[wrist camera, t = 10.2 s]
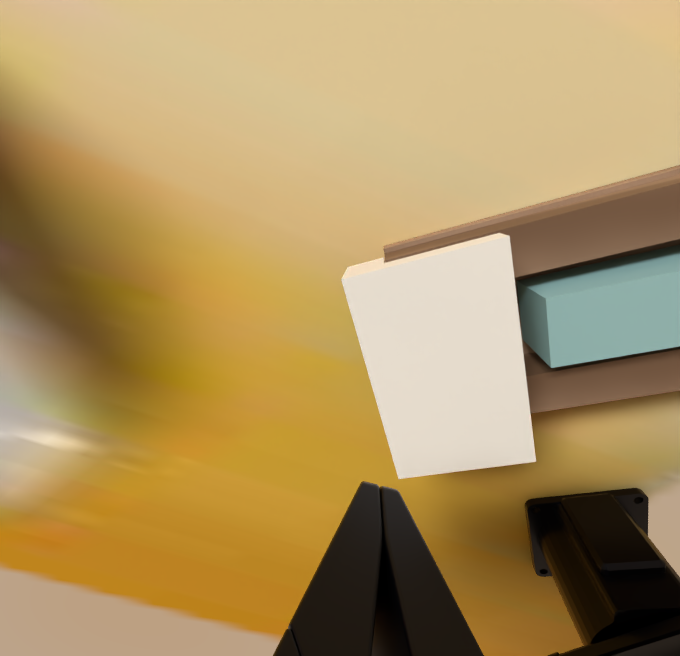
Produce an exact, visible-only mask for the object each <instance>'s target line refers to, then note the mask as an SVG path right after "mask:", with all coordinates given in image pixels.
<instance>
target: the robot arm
mask: <svg viewBox="0 0 680 656" xmlns="http://www.w3.org/2000/svg"><path fill="white" fill-rule="evenodd" d="M525 511H526V518H527V525H528V532H529V540H530V547H531V554H532V561H533V567H534V569H535V572H536V574H537V575H539V576H542V577H546V576H553V578H554V581H555V583H556V585H557V587H558V590H559V592H560V594H561V596H562V598H563V601H564V603H565V605H566V607H567V610H568V612H569V614H570V616H571V619H572V621H573V623H574V625H575V627H576V630H577V632H578V634H579V636H580V639H581V641H582V643H583V645H584V646H582V647H579V648H576V649H573V650H570V651H567V652H564V653H561V654H559V653H558V652H556V653H553V654H550V655H548V656H680V577H679V576H678V575H677V574H676V572H675V571H674V569H673V568H672V567H671V566H670V565H669V563H668V562H667V561H666V559H665V558H664V557H663V555H662V554H661V553H660V552H659V550H658V549H657V548H656V547H655V545H654V544H653V543H652V542H651V540H650V539H649V538H648V497H647V496H646V495H645V493H644V492H643V491H642V490H641V489H638V488H631V489H622V490H612V491H603V492H593V493H584V494H574V495H565V496H555V497H545V498H536V499H530V500H528V501H527V502H526V503H525ZM273 656H484V655H483V653H482V651H481V649H480V647H479V646H478V644H477V642H476V640H475V638H474V636H473V634H472V632H471V630H470V628H469V626H468V624H467V622H466V620H465V618H464V617H463V615H462V613H461V611H460V609H459V607H458V605H457V603H456V601H455V599H454V597H453V595H452V593H451V591H450V589H449V587H448V586H447V584H446V582H445V580H444V578H443V576H442V574H441V572H440V570H439V568H438V566H437V564H436V562H435V560H434V558H433V557H432V555H431V553H430V551H429V549H428V547H427V545H426V543H425V541H424V539H423V537H422V535H421V533H420V531H419V529H418V528H417V526H416V524H415V522H414V520H413V518H412V516H411V514H410V512H409V510H408V508H407V506H406V504H405V502H404V500H403V499H402V497H401V495H400V493H399V492H398V490H396V489H392V488H388V487H385V486H381V487H380V488H379V486H378V485H377V484H373V483H369V482H365V481H363V482H361V484H360V486H359V488H358V490H357V492H356V493H355V495H354V497H353V499H352V501H351V503H350V505H349V507H348V509H347V511H346V513H345V515H344V517H343V519H342V521H341V523H340V525H339V527H338V529H337V531H336V533H335V535H334V537H333V539H332V541H331V543H330V545H329V547H328V549H327V551H326V553H325V555H324V557H323V558H322V560H321V562H320V564H319V566H318V568H317V570H316V572H315V574H314V576H313V578H312V580H311V582H310V584H309V586H308V588H307V590H306V592H305V594H304V596H303V598H302V600H301V602H300V604H299V606H298V608H297V610H296V612H295V614H294V616H293V618H292V620H291V622H290V624H289V627H288V629H286V631H285V633H284V635H283V637H282V639H281V641H280V643H279V645H278V647H277V649H276V651H275V653H274V655H273Z"/></svg>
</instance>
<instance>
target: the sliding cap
mask: <svg viewBox="0 0 680 656" xmlns="http://www.w3.org/2000/svg"><path fill="white" fill-rule="evenodd" d="M341 280H342V284H343V287H344V291H345V294H346V298H347V301H348V305H349V308H350V312H351V315H352V318H353V322H354V325H355V329H356V332H357V336H358V339H359V343H360V346H361V350H362V353H363V357H364V360H365V364H366V367H367V371H368V374H369V377H370V381H371V384H372V388H373V391H374V395H375V398H376V402H377V405H378V409H379V412H380V416H381V419H382V423H383V426H384V430H385V433H386V437H387V440H388V443H389V447H390V450H391V454H392V457H393V461H394V464H395V468H396V471H397V475H398V478H399V479H402V478H410V477H418V476H426V475H434V474H442V473H450V472H458V471H466V470H474V469H482V468H490V467H498V466H506V465H514V464H522V463H530V462H536V457H535V448H534V440H533V431H532V423H531V414H530V406H529V397H528V389H527V380H526V372H525V363H524V355H523V346H522V338H521V329H520V321H519V312H518V304H517V295H516V287H515V278H514V270H513V261H512V253H511V244H510V236H508V235H505V234H502V233H497V234H493V235H489V236H485V237H482V238H478V239H474V240H470V241H466V242H462V243H459V244H455V245H451V246H447V247H443V248H440V249H436V250H432V251H428V252H424V253H421V254H417V255H413V256H409V257H405V258H402V259H398V260H394V261H390V262H386V263H385V261H384V257H383V258H380V259H376V260H372V261H368V262H365V263H361V264H357V265H353V266H350V267H348V268H347V270H346V271H345V273H344V275H343V277H342V279H341Z"/></svg>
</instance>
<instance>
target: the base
mask: <svg viewBox="0 0 680 656" xmlns="http://www.w3.org/2000/svg"><path fill="white" fill-rule="evenodd" d="M497 233H502V234H505V235H508V236H510V244H511V253H512V261H513V270H514V278H515V287H516V295H517V304H518V312H519V321H520V329H521V338H522V328H521V318H520V309H519V299H518V289H517V281H518V280H522V279H527V278H531V277H536V276H540V275H545V274H549V273H554V272H558V271H563V270H567V269H572V268H576V267H581V266H585V265H590V264H594V263H599V262H603V261H608V260H612V259H617V258H621V257H626V256H630V255H635V254H639V253H644V252H648V251H653V250H657V249H662V248H666V247H671V246H675V245H680V165H679V166H675V167H671V168H668V169H664V170H660V171H657V172H653V173H649V174H646V175H642V176H639V177H635V178H631V179H628V180H624V181H620V182H617V183H613V184H609V185H606V186H602V187H598V188H595V189H591V190H587V191H584V192H580V193H576V194H573V195H569V196H565V197H562V198H558V199H555V200H551V201H547V202H544V203H540V204H536V205H533V206H529V207H525V208H522V209H518V210H514V211H511V212H507V213H503V214H500V215H496V216H492V217H489V218H485V219H481V220H478V221H474V222H470V223H467V224H463V225H460V226H456V227H452V228H449V229H445V230H441V231H438V232H434V233H430V234H427V235H423V236H419V237H416V238H412V239H408V240H405V241H401V242H397V243H394V244H390V245H386V246H384V252H385V263H386V262H390V261H394V260H398V259H402V258H405V257H409V256H413V255H417V254H421V253H424V252H428V251H432V250H436V249H440V248H443V247H447V246H451V245H455V244H459V243H462V242H466V241H470V240H474V239H478V238H482V237H485V236H489V235H493V234H497ZM522 346H523V355H524V363H525V372H526V380H527V389H528V397H529V406H530V414H531V413H538V412H544V411H551V410H557V409H564V408H570V407H577V406H583V405H590V404H596V403H603V402H609V401H616V400H622V399H629V398H635V397H642V396H648V395H655V394H661V393H668V392H674V391H680V346H679V347H673V348H667V349H661V350H655V351H649V352H643V353H638V354H632V355H626V356H620V357H614V358H608V359H602V360H596V361H590V362H584V363H578V364H572V365H566V366H560V367H555V368H551V367H550V366H549V365H548V364H547V363H546V362H545V361H544V360H543V359H542V358H541V357H540V356H539V355H538V354H537V353H536V352H535V351H534V350H533V349H532V348H531V347H530V346H529V345H528V344H527V343H526V342H525V341H524V340H523V338H522Z"/></svg>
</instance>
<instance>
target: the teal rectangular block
mask: <svg viewBox="0 0 680 656" xmlns="http://www.w3.org/2000/svg"><path fill="white" fill-rule="evenodd" d="M517 289H518V299H519V309H520V318H521V328H522V338H523V340H524V341H525V342H526V343H527V344H528V345H529V346H530V347H531V348H532V349H533V350H534V351H535V352H536V353H537V354H538V355H539V356H540V357H541V358H542V359H543V360H544V361H545V362H546V363H547V364H548V365H549V366H550V367H551V368H555V367H560V366H566V365H572V364H578V363H584V362H590V361H596V360H602V359H608V358H614V357H620V356H626V355H632V354H638V353H643V352H649V351H655V350H661V349H667V348H673V347H679V346H680V245H675V246H671V247H666V248H662V249H657V250H653V251H648V252H644V253H639V254H635V255H630V256H626V257H621V258H617V259H612V260H608V261H603V262H599V263H594V264H590V265H585V266H581V267H576V268H572V269H567V270H563V271H558V272H554V273H549V274H545V275H540V276H536V277H531V278H527V279H522V280H518V281H517Z"/></svg>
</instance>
